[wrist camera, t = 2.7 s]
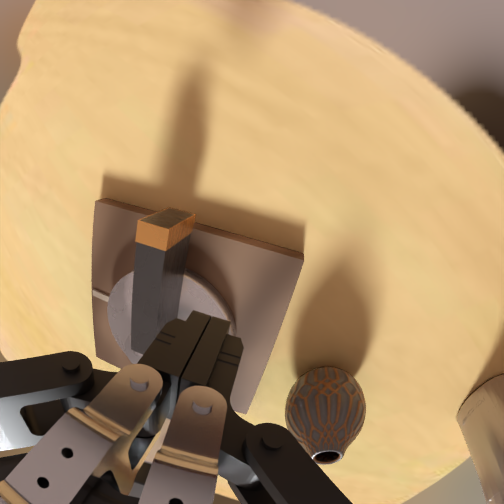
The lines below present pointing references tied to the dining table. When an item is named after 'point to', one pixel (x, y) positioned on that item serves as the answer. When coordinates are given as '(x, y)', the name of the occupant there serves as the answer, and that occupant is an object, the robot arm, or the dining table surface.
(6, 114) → the dining table surface
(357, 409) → the vase
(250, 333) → the base
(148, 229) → the knob
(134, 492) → the jar
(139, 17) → the dining table surface
